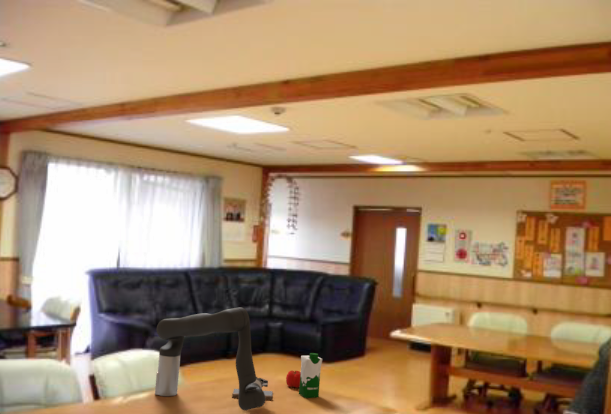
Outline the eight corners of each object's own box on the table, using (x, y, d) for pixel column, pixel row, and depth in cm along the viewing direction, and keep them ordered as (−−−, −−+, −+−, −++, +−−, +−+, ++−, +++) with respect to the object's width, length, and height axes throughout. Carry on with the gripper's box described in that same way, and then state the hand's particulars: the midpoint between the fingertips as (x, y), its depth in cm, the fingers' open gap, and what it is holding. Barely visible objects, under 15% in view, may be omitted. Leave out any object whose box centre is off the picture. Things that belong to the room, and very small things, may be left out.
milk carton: (304, 398, 277) (307, 355, 278) (296, 393, 285) (299, 350, 286) (321, 397, 281) (324, 354, 281) (312, 392, 289) (315, 350, 289)
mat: (232, 395, 273) (232, 394, 273) (234, 389, 283) (234, 388, 283) (272, 398, 273) (272, 397, 274) (272, 392, 283) (272, 391, 283)
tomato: (284, 384, 300) (285, 369, 300) (301, 384, 302) (302, 369, 302) (287, 389, 291) (289, 373, 291) (305, 389, 293) (307, 374, 293)
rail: (232, 397, 270) (232, 393, 270) (232, 396, 271) (232, 392, 271) (272, 400, 271) (272, 396, 271) (272, 399, 272) (272, 395, 272)
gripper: (269, 380, 253) (269, 370, 270) (237, 378, 252) (239, 368, 269) (268, 398, 252) (268, 387, 270) (236, 396, 252) (238, 385, 269)
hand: (254, 377), depth 270 cm, fingers closed
